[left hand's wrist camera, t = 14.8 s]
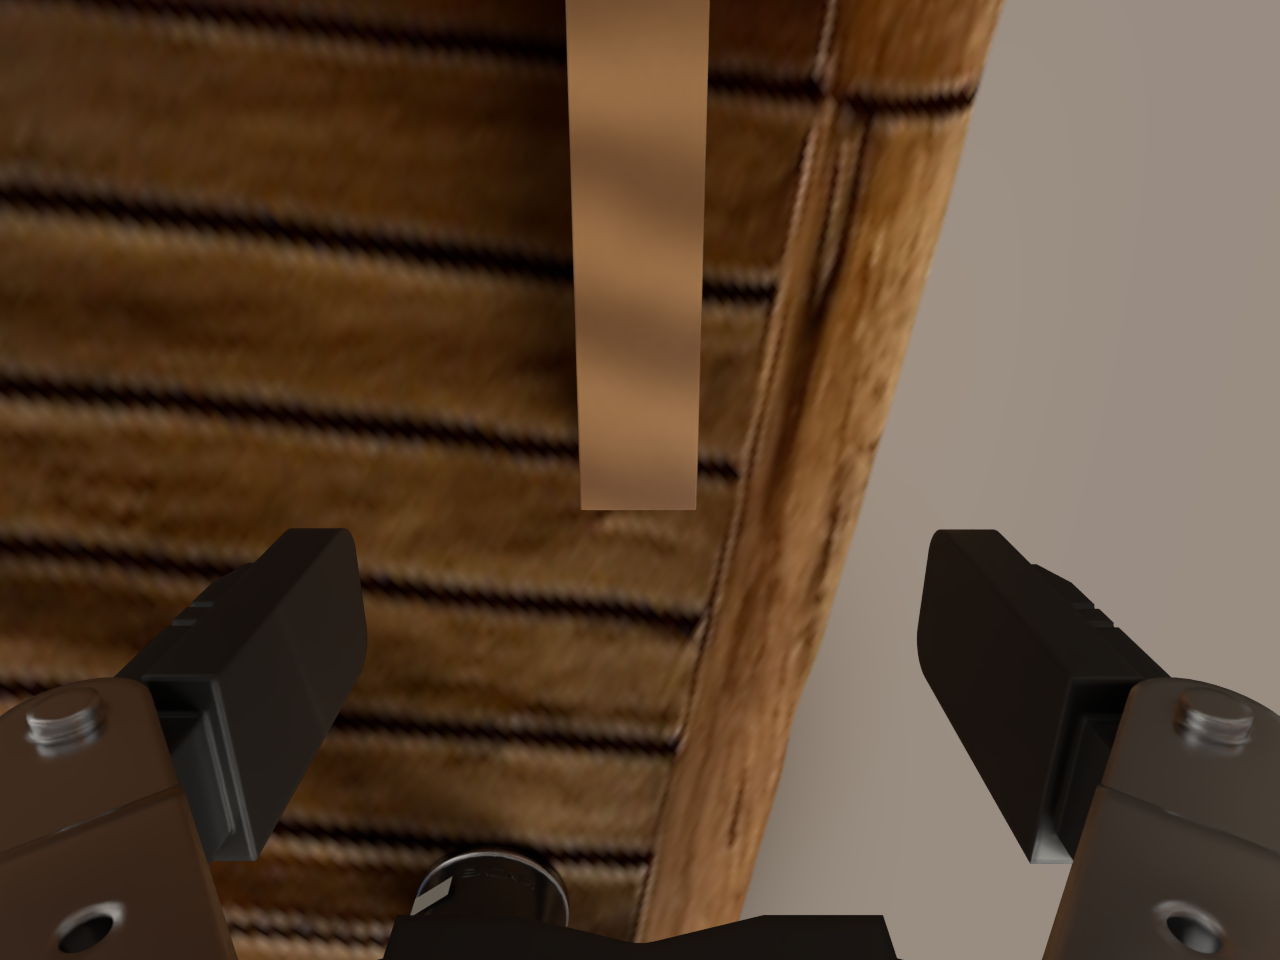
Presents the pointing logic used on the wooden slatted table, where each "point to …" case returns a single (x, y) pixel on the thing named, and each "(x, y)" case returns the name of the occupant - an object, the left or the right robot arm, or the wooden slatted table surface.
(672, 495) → the post
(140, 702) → the left robot arm
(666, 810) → the wooden slatted table surface
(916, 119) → the wooden slatted table surface
